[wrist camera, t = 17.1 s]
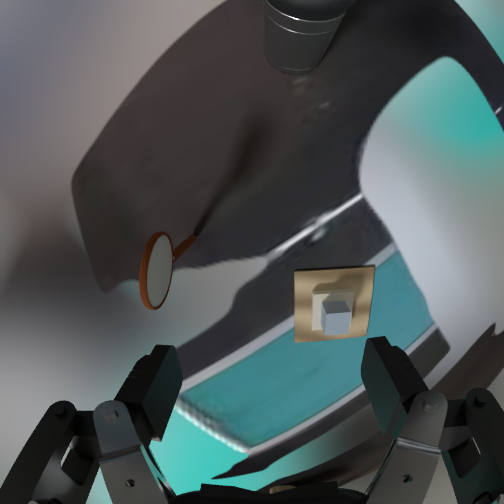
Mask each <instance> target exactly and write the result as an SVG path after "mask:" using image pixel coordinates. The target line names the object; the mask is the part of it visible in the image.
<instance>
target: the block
mask: <svg viewBox="0 0 504 504" xmlns="http://www.w3.org/2000/svg"><path fill="white" fill-rule="evenodd" d="M350 317H351V311H350V309H349V307H348V306H347V304H346V302H345V301H333V302H322V306H321V322H320V323H321V326H322V329H323V332H324V335H337V334H347V333H348V332H349V325H350Z"/></svg>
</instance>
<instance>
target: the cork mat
mask: <svg viewBox="0 0 504 504" xmlns="http://www.w3.org/2000/svg"><path fill="white" fill-rule="evenodd" d="M374 270H375V267H374V266H371V267H356V268H341V269H324V270H306V271H294V274H295V329H294V343H296V342H311V341H323V340H334V339H344V338H353V337H361V336H366V334H367V327H368V321H369V314H370V307H371V299H372V290H373V281H374ZM349 288H352V289H353V291H354V297H353V307H352V317H351V325H350V327H349V332H348V333H347V334H337V335H324V332H323V330H314V331H312V329H311V309H312V291H321V290H336V289H349Z"/></svg>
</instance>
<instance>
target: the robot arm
mask: <svg viewBox="0 0 504 504" xmlns="http://www.w3.org/2000/svg"><path fill="white" fill-rule="evenodd" d="M355 2H356V0H263V6H264V45H265V55H266V58H267V60H268V61H269V63H270V64H271V65H272V66H273V67H275V68H276V69H278V70H279V71H282V72H284V73H288V74H295V75H298V74H305V73H308V72H310V71H312V70H314V69H315V68H316V67H317V66H318V65H319V63H320V61H321V59H322V58H323V56H324V54H325V52H326V50H327V48H328V46H329V44H330V42H331V40H332V38H333V36H334V34H335V32H336V30H337V28H338V26H339V25H340V23H341V21H342V19H343V17H344V15H345V13H346V11H347V9H348V8H350V7H351V6H352V5H353V4H354V3H355ZM361 377H362V381H363V383H364V386H365V389H366V391H367V394H368V396H369V399H370V402H371V404H372V406H373V410H374V412H375V415H376V418H377V420H378V423H379V426H380V429H381V432H382V434H383V436H386V435H390V434H393V436H394V440H393V442H392V444H391V446H390V448H389V450H388V452H387V454H386V456H385V458H384V460H383V462H382V464H381V466H380V468H379V470H378V472H377V474H376V475H375V477H374V479H373V480H372V482H371V484H370V485H369V487H368V488H367V490H366V491H365V493H361V492H359V491H355V490H351V489H344V488H338V486H337V481H333V482H326V483H318V484H309V485H302V486H299V487H295V488H292V489H288V490H284V491H280V492H276V493H271V494H266V493H261V492H256V491H251V490H247V489H243V488H238V487H235V486H223V485H212V484H203V483H202V484H201V489H200V490H199V491H192V492H187V493H184V494H180V495H176V494H175V492H174V491H173V489H172V488H171V486H170V485H169V483H168V482H167V480H166V479H165V477H164V475H163V473H162V471H161V469H160V467H159V465H158V463H157V462H156V459H155V457H154V455H153V453H152V451H151V449H150V447H149V445H150V442H151V440H154V441H159V442H161V441H162V438H163V435H164V432H165V429H166V427H167V423H168V421H169V418H170V416H171V413H172V410H173V408H174V405H175V402H176V399H177V397H178V394H179V391H180V389H181V386H182V380H183V377H182V371H181V367H180V363H179V360H178V356H177V352H176V349H175V347H174V346H173V345H156V346H155V347H154V349H153V350H152V352H151V354H150V355H145V356H143V357H142V358H141V359H140V360H138V361H137V362H136V364H135V366H134V367H133V369H132V371H131V372H130V374H129V375H128V377H127V378H126V380H125V382H124V384H123V385H122V387H121V388H120V390H119V392H118V393H117V395H116V397H115V398H114V400H109V401H105V402H103V403H101V404H99V405H98V406H97V407H96V408H95V410H94V411H77V410H76V408H75V406H74V405H73V404H72V403H71V402H69V401H58V402H55V403H54V404H52V405H51V406H50V407H49V408H48V410H47V411H46V413H45V414H44V416H43V417H42V419H41V420H40V422H39V424H38V425H37V426H36V428H35V430H34V431H33V433H32V434H31V436H30V438H29V439H28V441H27V442H26V444H25V446H24V447H23V449H22V451H21V452H20V454H19V456H18V457H17V459H16V461H15V463H14V464H13V466H12V468H11V470H10V472H9V473H8V475H7V477H6V479H5V481H4V483H3V485H2V487H1V488H0V504H86V501H87V498H88V496H89V493H90V490H91V488H92V485H93V482H94V480H95V477H96V475H97V472H98V469H99V467H100V468H101V471H102V474H103V477H104V481H105V484H106V487H107V489H108V492H109V495H110V498H111V500H112V503H113V504H422V503H423V501H424V498H425V496H426V493H427V491H428V488H429V486H430V483H431V481H432V478H433V475H434V473H435V470H436V467H437V464H438V460H439V457H440V453H441V454H442V457H443V460H444V462H445V465H446V468H447V471H448V474H449V477H450V480H451V483H452V486H453V489H454V492H455V496H456V499H457V503H458V504H504V411H503V410H502V408H501V407H500V405H499V403H498V402H497V400H496V399H495V398H494V396H493V394H492V393H491V392H490V391H488V390H486V389H484V388H474V389H472V390H470V391H469V392H468V394H467V395H466V397H465V399H458V400H447V399H446V398H445V397H444V396H443V395H442V394H441V393H439V392H437V391H433V390H429V389H428V387H427V386H426V384H425V382H424V381H423V379H422V378H421V376H420V374H419V373H418V371H417V370H416V368H414V365H413V363H412V362H411V361H410V359H409V357H408V356H407V354H406V353H405V352H404V351H403V350H402V349H400V348H399V347H397V346H391V345H390V343H389V341H388V340H387V338H386V337H385V336H381V337H374V338H368V339H367V340H366V344H365V349H364V354H363V360H362V364H361ZM473 437H474V439H475V442H476V444H477V446H478V448H479V450H480V454H481V455H480V454H479V452H478V450H477V447H476V446H475V443H474V441H473V439H472V438H473ZM68 446H69V447H70V448H71V449H70V451H69V453H68V455H67V457H66V459H65V461H64V463H63V465H62V467H61V460H62V458H63V456H64V454H65V452H66V450H67V448H68Z"/></svg>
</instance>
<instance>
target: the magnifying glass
mask: <svg viewBox="0 0 504 504" xmlns="http://www.w3.org/2000/svg"><path fill="white" fill-rule="evenodd" d="M195 240H196V238H195V236H193V235H191V236H189V237H188V238H187V239H186V240H184V241H183V242H182V243H181V244H180V245H179V246H178V247H176V248H175V249H174V250H173V245H172V241H171V238H170V236H169V235H168V234H167V233H166V232H162V231H160V232H156V233H155V234H153V235H152V236H151V238H150V239H149V241H148V243H147V245H146V247H145V250H144V252H143V256H142V260H141V265H140V273H139V289H140V295H141V299H142V302H143V303H144V305H145V307H147V308H148V309H151V310H156V309H159V308H160V307H161V306H162V304H163V303H164V301H165V299H166V297H167V294H168V291H169V287H170V283H171V278H172V272H173V262H175V261H176V260H177V259H178V258H179V257H180V256H181V255H182V254H183V253H184V252H185V251H186V250H187V249H188V248H189V247H190V246H191V245H192V244H193V243H194V242H195Z"/></svg>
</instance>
